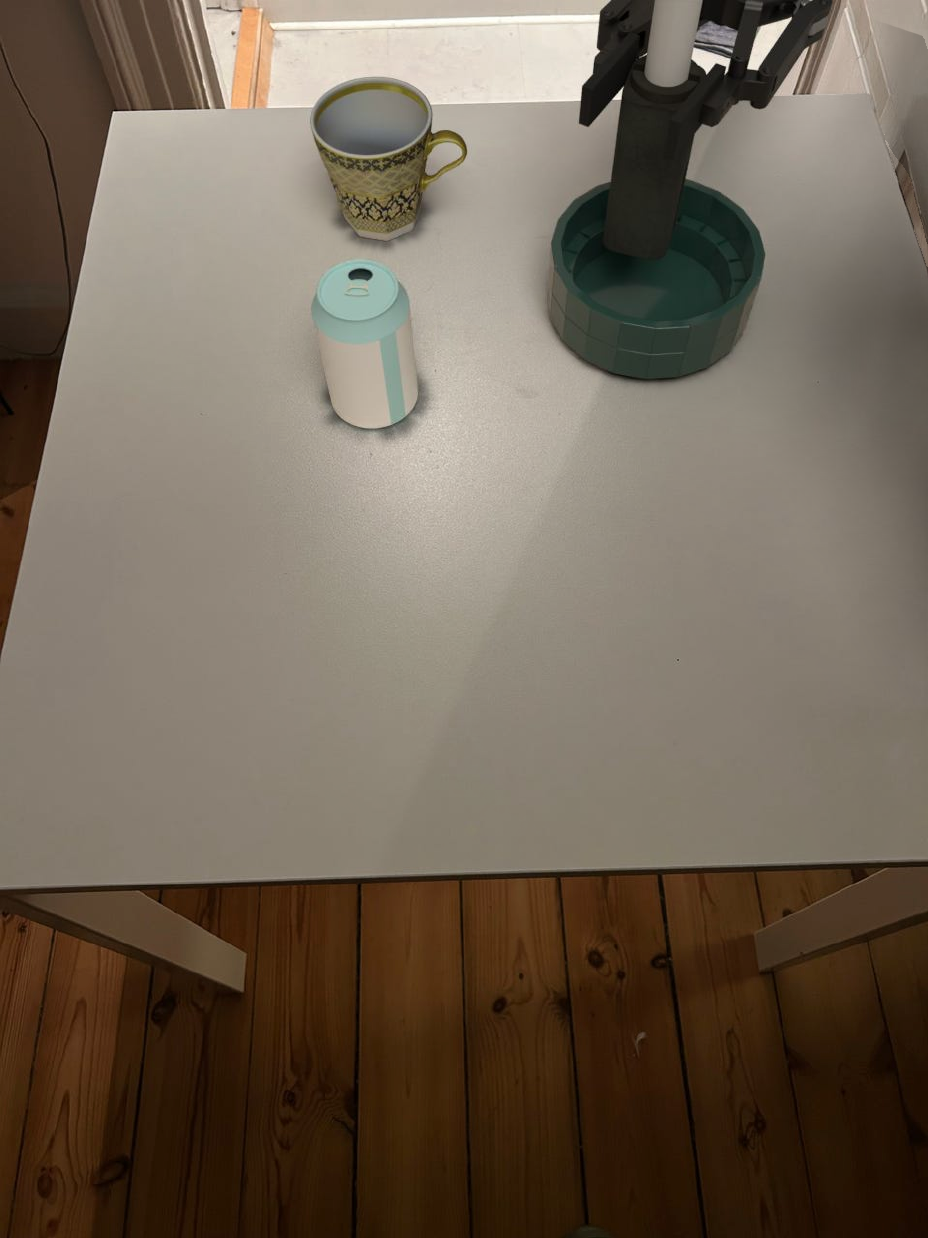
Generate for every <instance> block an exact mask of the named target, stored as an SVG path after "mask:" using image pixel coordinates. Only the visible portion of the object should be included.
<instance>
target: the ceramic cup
mask: <svg viewBox="0 0 928 1238" xmlns="http://www.w3.org/2000/svg"><path fill="white" fill-rule="evenodd" d="M433 116H434V115H433V108H432V105H431V103H430V101H429V99H428V97H427V96H426V95H425V94H424V93H423V92H422V91H421V90H420V89H419V88H417V87H416V86H414V85H412V83H411V84H410V83H409V82H406V81H403V80H400V79H397V78H393V77H388V76H387V77H386V76H364V77H358V78H353V79H349V80H346V81H343V82H342V83H339V84H337V85H336V86H334V87H331V88H330V89H328V90H327V91H326V92H324V93H323V94H322V95H321V96H320V97H319V98H318V100H317V101H316V102H315V104H314V105H313V108H312V109H311V113H310V119H309V125H310V129H311V133H312V137H313V140H314V144H315V146H316V148H317V150H318V153H319V156H320V159H321V161H322V163H323V165H324V167H325V169H326V171H327V174H328V177H329V180H330V182H331V185H332V188H333V190H334V193H335V195H336V198H337V201H338V204H339V207H340V209H341V211H342V215H343V217H344V219H345V221H347V223H348V224H349V225H350V227H351V228H352V229H353V230H354V232H355V233H356V235H358V237H361V238H365V239H371V240H372V239H373V240H379V241H386V242H389V241H391V240H394V239H395V238H398V237H400V236H403V235H404V234H408V233H410V232H412V231H413V230H414V229H415V227H416V224H417V221H418V218H419V216H420V213H421V210H422V208H421V207H422V200H423V192H425V191H426V190H427V188H428V186H430V185H431V184H432V183H433V182H435V181H437V180H438V179H439V178H441V176H443V175H444V174H445V173H447V172H449V171H451V170H453V169H455V168H457V167H459V166H460V165H462V164H463V163H464V161H465V160H466V158H467V156H468V147H467V144H466V141H465V140H464V138H463V137H462V136H461V134H459V133H457V132H456V131H453V130H450V129H442V130H441V129H440V130H437V131H436V132H432V128H433ZM444 143H445V144H446V143H448V144H449V143H451V144H455V145H456V146H458V147H459V148H460V150H461V156H460V157H459V158H457V159H456V160H454V161H452V162H450V163H447V164H445V165H444V166H443V167H441V168H440V169H439V170H438V171H437V172H436V173H434V174H431V175H429V174H427V172H426V168H427V161H428V156H429V155H430V154H431V153H432V151H433V150H434V148H435V147H436V146H438V145H440V144H444Z"/></svg>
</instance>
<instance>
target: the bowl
mask: <svg viewBox="0 0 928 1238" xmlns="http://www.w3.org/2000/svg"><path fill="white" fill-rule="evenodd" d="M610 182H611V181H608V182H604V183H601V184H598V185H595V186H594V187H593V188H591V189H589V190H588V191H586V192H585V193H583V194H581V195H580V196H577V197H576V198H575V199H573V201H572V202H571V203H570V204H569V206H567V208H566V209H565V210H564V212H563V213H562V214H561V215H560V216H559V218H558V219H557V221H556V224H555V227H554V231H553V234H552V237H551V241H550V250H549V263H548V265H549V266H548V278H547V291H546V296H547V305H548V313H549V318H550V321H551V322H552V324H553V326H554V328H555V330H556V331H557V333H558V335H559V336H560V339H561V340H562V341H563V343H565V344H566V345H567V346H568V347H569V348H570V349H571V350H573V351H574V352H575V353H576V354H577V355H578V356H579V357H581V358H582V359H583V360H584V361H586V362H588V363H590V364H593V365H595V366H597V367H598V368H601V369H603V370H606V371H608V372H610V373H612V374H615V375H621V376H627V377H632V378H637V379H642V380H653V379H668V378H669V379H670V378H678V377H682V376H685V375H689V374H692V373H695V372H698V371H701V370H704V369H706V368H709V367H710V366H711V365H713V364H714V363H716V362H717V361H719V360H720V359H721V358H722V357H724V356H725V355H727V354H728V353H730V352H731V351H732V349H733V348H734V347H735V345H736V343H737V342H738V341H739V339H740V337H741V336H742V335H743V333H744V332H745V330H746V326H747V324H748V320H749V317H750V315H751V311H752V308H753V304H754V302H755V299H756V296H757V293H758V289H759V286H760V285H761V280H762V276H763V270H764V266H765V259H766V250H765V247H764V244H763V240H762V235H761V232H760V229H759V228H758V227H757V226H756V224H755V223H754V221H753V220H752V219H751V217H750V216H749V215H748V213H747V212H746V211H745V209H744V208H743V207H741V206H740V205H739V204H737V203H736V202H734V201H733V200H732V199H730V198H729V197H728V196H726V195H725V194H724V193H722V192H721V191H719V190H717V189H714V188H712V187H710V186H707V185H706V184H702V183H700V182H697V181H694V180H692V179H689V178H686V179H685V184H684V189H683V193H682V198H681V203H680V208H679V213H678V217H677V222H676V227H675V229H674V230H672V232H671V236H670V241H669V246H668V251H667V253H666V255H665V256H664V257H662V258H661V259H658V260H648V259H643V258H639V257H634V256H630V255H625V254H621V253H616V252H613V251H610V250H608V249H607V248H606V247H605V246H604V244H603V237H604V229H605V221H606V213H607V206H608V198H609V190H610Z"/></svg>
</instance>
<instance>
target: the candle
mask: <svg viewBox="0 0 928 1238" xmlns="http://www.w3.org/2000/svg"><path fill="white" fill-rule="evenodd" d="M702 1H703V0H655V4H654V10H653V17H652V24H651V31H650V38H649V44H648V51H647V54H645V55H643V56H642V57H640V58H638V59H637V60H636V61H635V62H634V63H633V65H632V68H631V70H630V73H629V75H628V78H627V80H626V82H625V85H624V87H623V88H622V89H621V90H622V91H621V96H620V97H621V98H620V105H619V112H618V113H619V114H618V119H617V120H618V121H617V128H616V136H615V144H614V152H613V158H612V159H613V160H612V167H611V176H610V181H609V182H610V190H609V198H608V206H607V213H606V221H605V229H604V237H603V244H604V246H605V247H606V248H607V249H608V250H610V251H613V252H616V253H621V254H625V255H630V256H634V257H639V258H643V259H648V260H658V259H661V258H662V257H664V256H665V255H666V253H667V251H668V246H669V241H670V236H671V232H672V230H674V229H675V227H676V222H677V217H678V213H679V208H680V203H681V198H682V193H683V189H684V184H685V179H687V175H688V174H687V173H688V168H689V165H690V159H691V154H692V150H693V145H694V140H695V135H696V133H695V134H694V136H693V137H692V138H691V139H690V141H689V142H688V143H687V144H686V146H685V147H684V148H683V150H682V151H681V152H680V153H679V155H678V156H677V157H676V158H675V160H674V161H673V160H671V159H668V158H666V157H663V156H664V151H665V145H666V140H667V134H668V129H669V123H670V119H671V118H672V117H673V115H674V114H675V113H676V112H677V110H678V109H679V108H680V107H681V105H682V104H683V103H684V102H685V101H686V99H687V98H688V97H689V96H690V94H691V93H692V92H693V91H694V89H695V88H696V87H697V86H698V85H699V83H700V82H701V81H702V80H703V78H704V77H705V76H706V75H707V71H706V70H705V69H704V68H703V67H702V66H701V65H699V64H697V62H696V61H695V60H694V59H692V58H693V53H694V48H695V43H696V37H697V32H698V29H697V27H698V22H699V17H700V11H701V6H702Z"/></svg>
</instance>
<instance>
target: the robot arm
mask: <svg viewBox="0 0 928 1238" xmlns="http://www.w3.org/2000/svg"><path fill="white" fill-rule="evenodd" d="M833 3H834V2H833V0H703V1H702V6H701V11H700V17H699V22H698V27H697V30H698V29H699V28H701V27H703V26H704V25H706V24H707V23H710V22H713V23H719V24H722V25H724V26H726V27H727V28H729V29H731V30H735V31H737V33H736V36H735V41H734V43H733V48H732V52H731V54H730V58H729V63H728V68H727V66H726V65H723V64H721V63H717V62H715V64H714V65H713V66H712V67H711V68H710V70H708V72H706V74H707V75H706V76H705V77H704V78H703V80H702V81H701V82H700V83H699V85H698V86H697V87H696V88H695V89H694V91H693V92H692V93H691V94H690V96H689V97H688V98H687V99H686V101H685V102H684V103H683V104H682V105H681V107H680V108H679V109H678V110H677V112H676V113H675V114H674V115H673V117H672V118H671V119H670V123H669V129H668V134H667V140H666V145H665V151H664V156H663V157H666V158H668V159H671V160H673V161H674V160H675V158H676V157H677V156H678V155H679V153H680V152H681V151H682V150H683V148H684V147H685V146H686V144H687V143H688V142H689V141H690V139H691V138H692V137H693V136H694V134H695V135H696V133H697V132H698V131H699V129H700V128H701V127H702V126H703V125H704V126H707V127H710V128H714V127H716V126H717V125H719V124H720V123H721V121H722V120H723V119H724V118H725V116H726V115H727V113H728V112H729V111H730V110H731V109H732V107H733V106H736V105H737V104H739V102H741V101H743V102H744V101H746V102H749V106H750V107H752V108H753V109H756V110H763V109H766V108H767V107H768V106H769V104H770V102H772V99H773V98H774V97H775V95H776V94H777V92H778V90H779V89H780V87H781V86H782V84H783V83H784V81H785V79H786V78H787V77H788V76H789V74H790V72H791V70H793V67H794V66H795V64H796V63H797V61H798V60H799V58H800V57H801V55H802V54H803V52H804V51H805V50H806V49H808V48H809V47H810V46H812V45H814V44H815V43H817V42H819V41H820V40H822V38H823V36H824V33H825V29H826V26H827V24H828V23H827V22H828V19H829V16H830V13H831V11H832V9H831V8H832V6H833ZM654 4H655V0H609V2H608V3H606V4H605V5H604V7H602V8H601V10H600V11H599V16H598V17H599V18H598V26H597V27H598V28H597V38H596V49H597V50H598V51H599V52H598V53H597V54H596V55H595V56H594V59H593V66H592V74H591V75H590V77H589V78H588V79H586V80H585V82H584V83H583V84H582V85H581V93H580V104H579V116H578V124H579V125H582V126H584V127H587V128H589V127H590V126H591V125H592V124H593V123H594V122H595V120H596V119H597V118H598V117H599V116H600V115H601V114H602V113H603V111H604V110H605V109H606V108H607V106H609V104H610V103H611V102H612V101H613V100H614V99H615V97H616V96H617V95H618V94H619V93H620V91H621V90H623V87H624V85H625V82H626V80H627V78H628V75H629V73H630V70H631V68H632V65H633V63H634V62H635V61H636V60H637V59H638V58H641V57H642V56H645V55H647V51H648V44H649V38H650V31H651V24H652V17H653V10H654ZM788 19H790V21H789V22H788V24H787V25H786V26H785V28H784V29H783V31H782V32H781V34H780V35H779V37H777V40H776V41H775V42H774V44H773V46H772V47H771V48H770V50H769V51H768V53H767V54H766V56H765V57H764V58H763V60H762V62H761V63H760V64H759V66H758V68H757V69H751V68H748V67H749V63H750V60H751V56H752V52H753V47H754V44H755V39H756V36H757V32H758V28H760V27H764V26H767V25H771V24H774V23H778V22H782V21H786V20H788ZM726 70H727V71H726ZM694 137H695V136H694Z"/></svg>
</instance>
